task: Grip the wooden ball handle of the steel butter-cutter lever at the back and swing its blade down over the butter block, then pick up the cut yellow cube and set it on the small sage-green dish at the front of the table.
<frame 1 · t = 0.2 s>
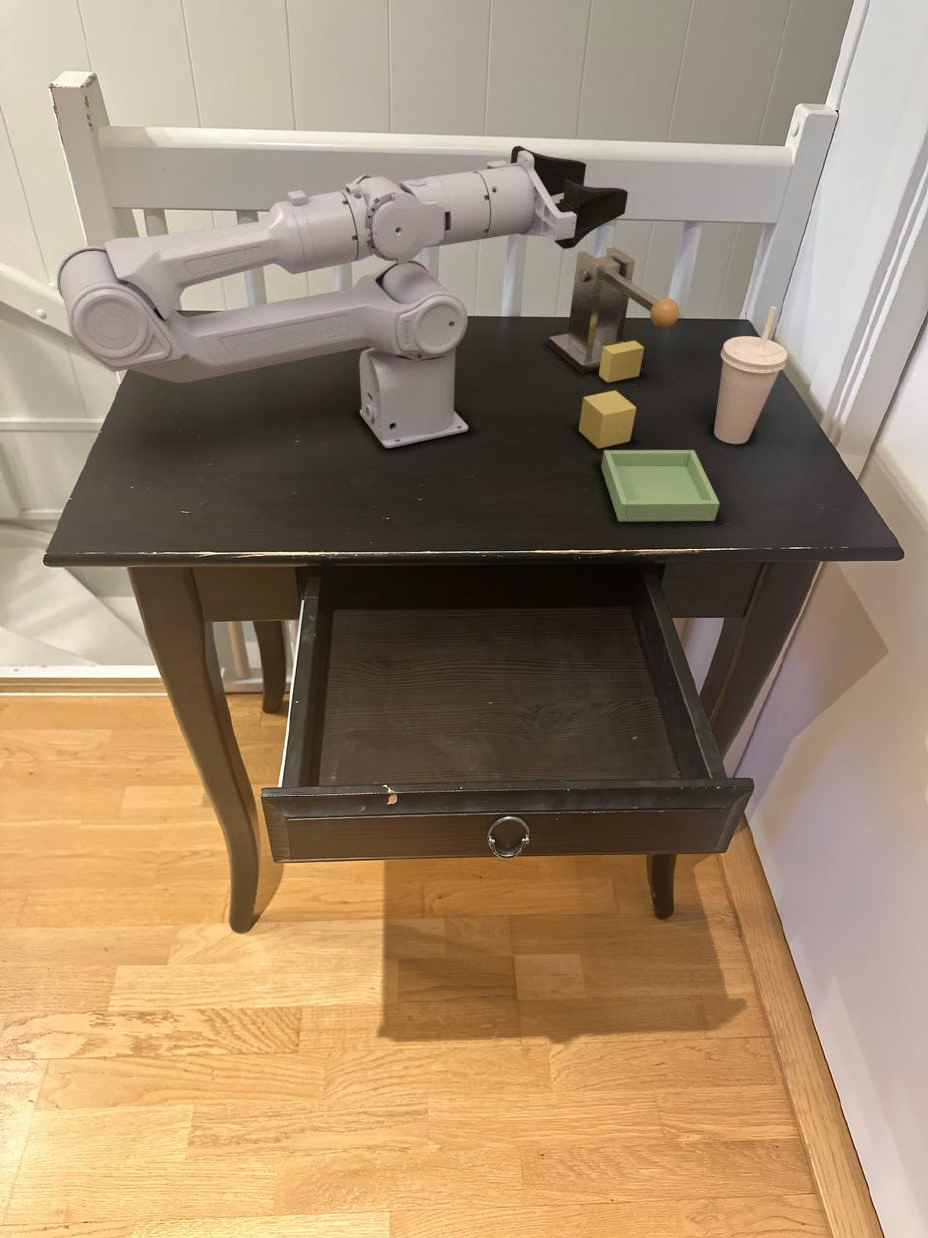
hand: (603, 187, 82), 22 cm above the table, tool horizontal, fingers open, 7 cm apart
yellow cube: (604, 435, 89), on the table
butter block: (618, 375, 99), on the table
dish: (655, 493, 82), on the table
smoothie: (730, 436, 90), on the table
cutter: (592, 354, 103), on the table
cutter lever: (633, 291, 92), point 10 cm above the table, hinge at 0.0°
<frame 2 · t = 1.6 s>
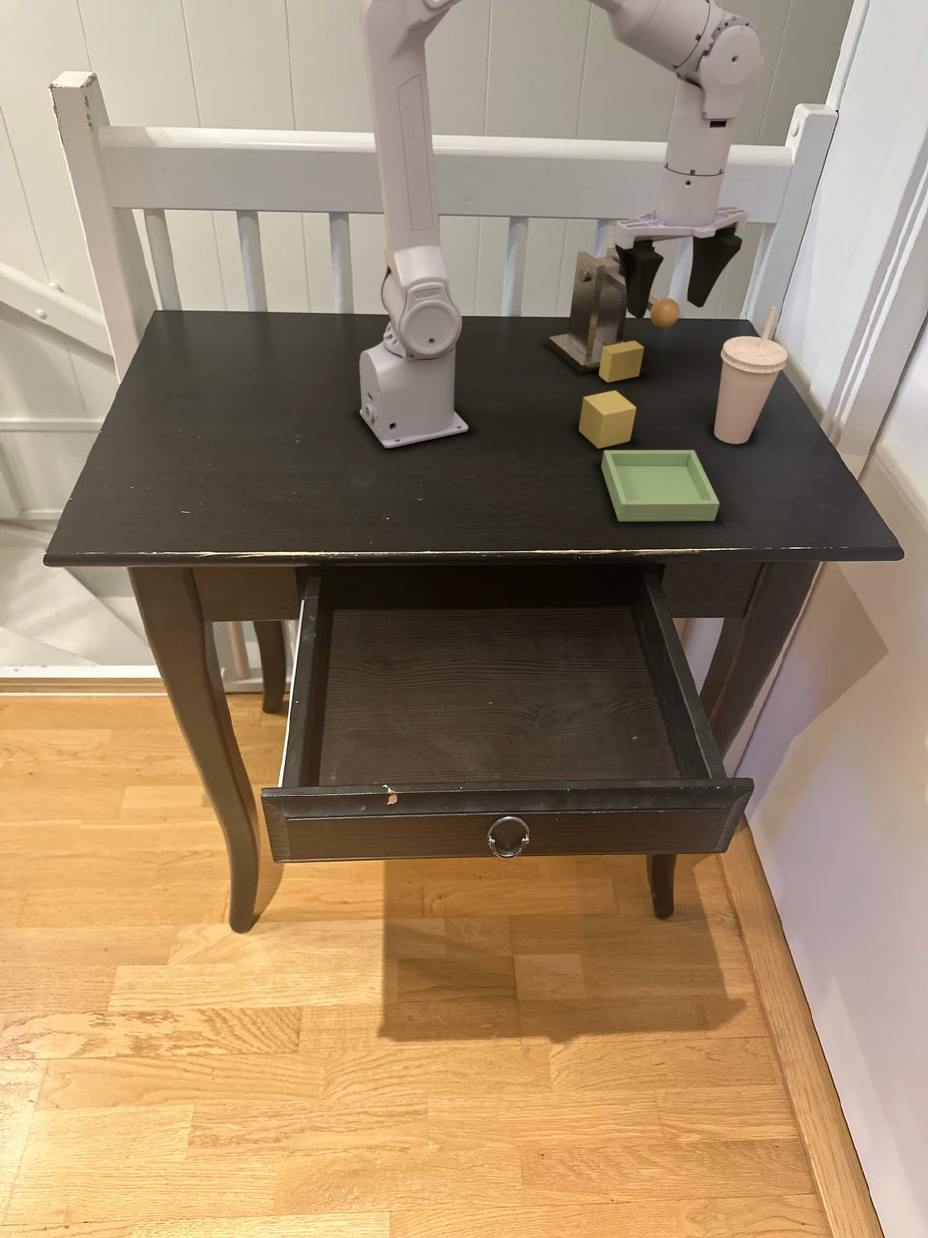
hand: (665, 309, 88), 10 cm above the table, tool pointing down, fingers open, 7 cm apart
nothing on the table moved.
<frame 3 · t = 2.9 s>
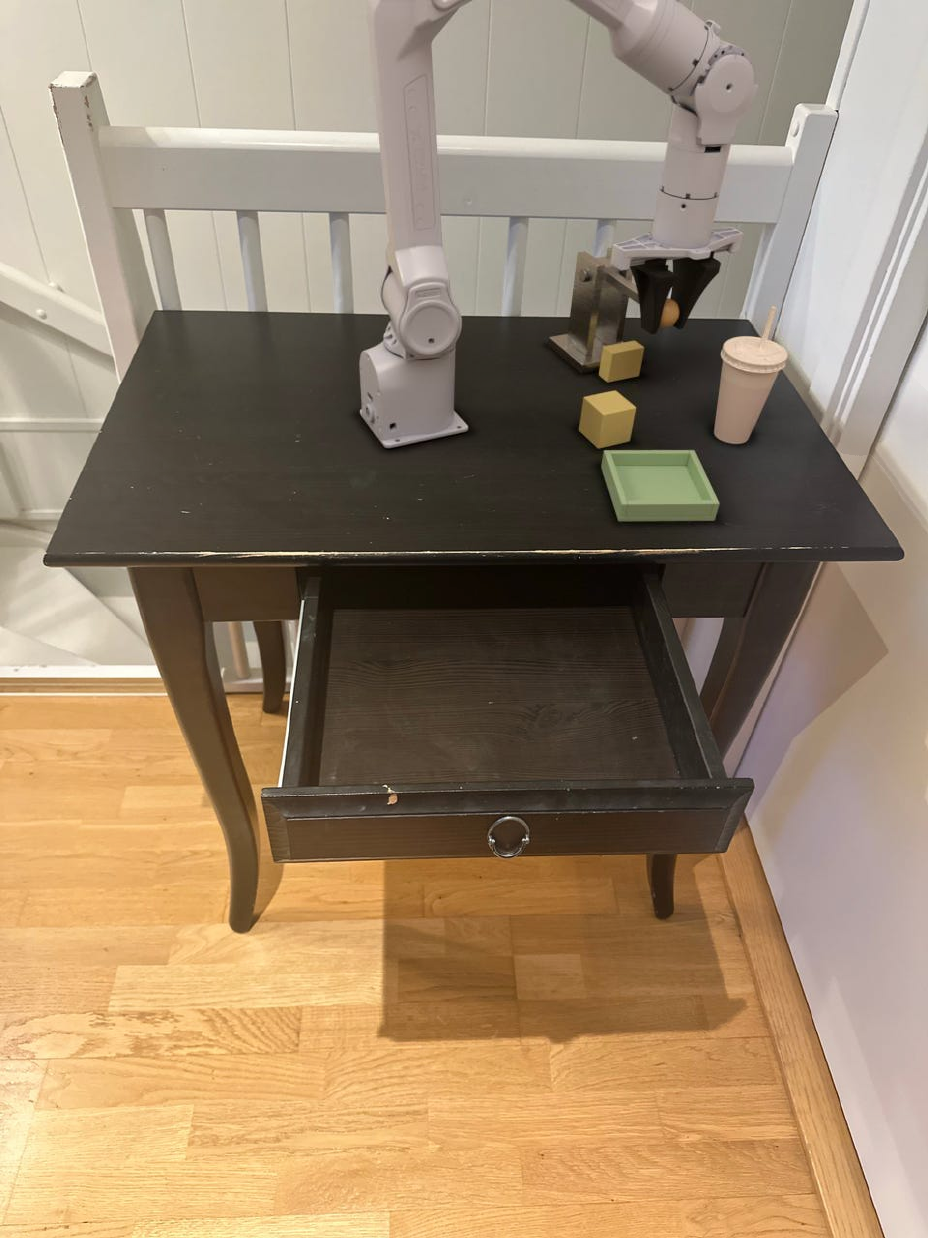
hand: (661, 327, 90), 8 cm above the table, tool pointing down, fingers closed on cutter lever, 3 cm apart
cutter lever: (633, 291, 92), point 10 cm above the table, hinge at 0.0°, touching gripper
everything else where it was.
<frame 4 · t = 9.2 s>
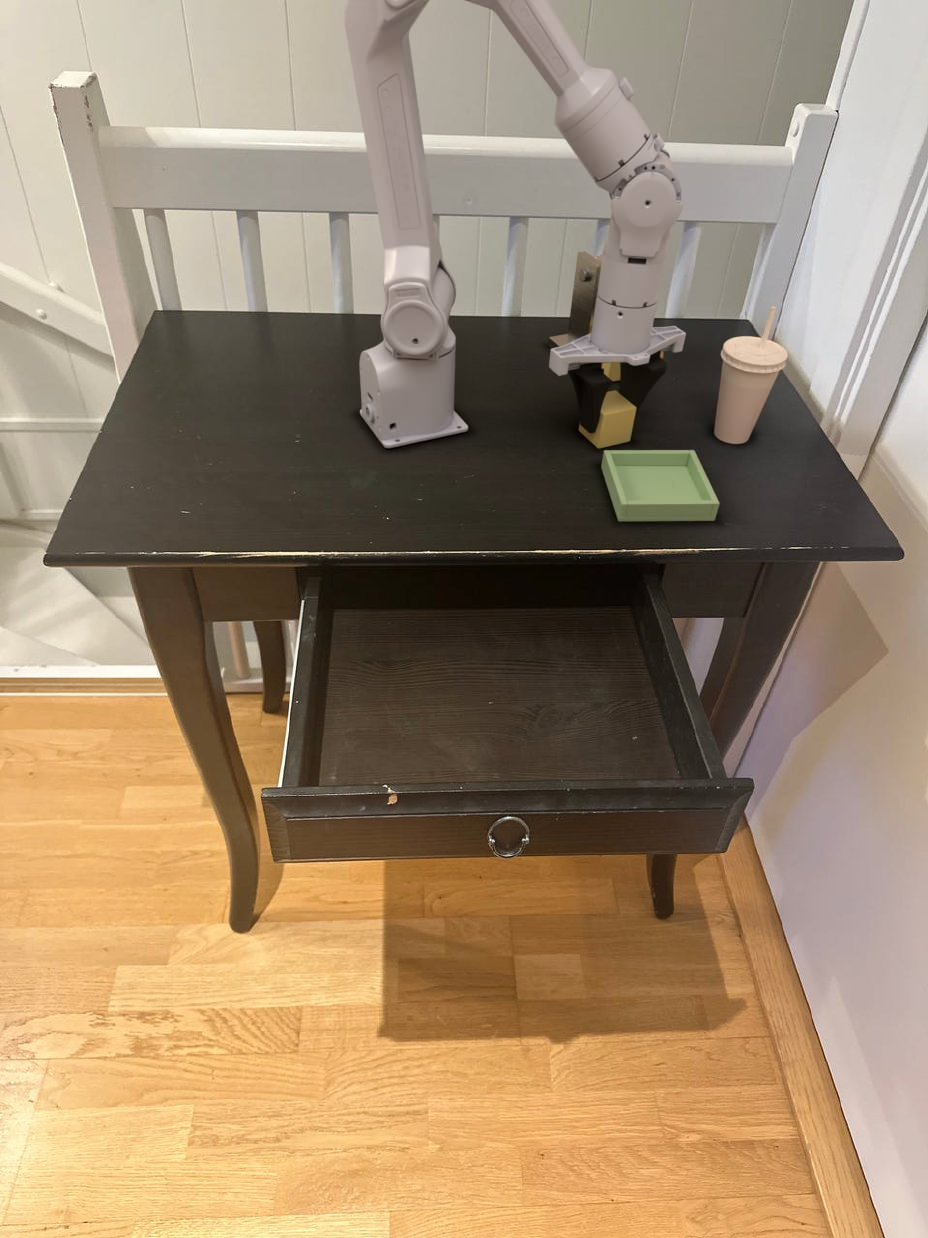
hand: (605, 424, 88), 1 cm above the table, tool pointing down, fingers closed on yellow cube, 4 cm apart
yellow cube: (604, 435, 89), on the table, touching gripper
cutter lever: (626, 312, 95), point 7 cm above the table, hinge at -25.5°
everything else where it was.
when the fingers open (2 cm above the table, at t = 13.3 s): yellow cube stays where it is, resting on dish.
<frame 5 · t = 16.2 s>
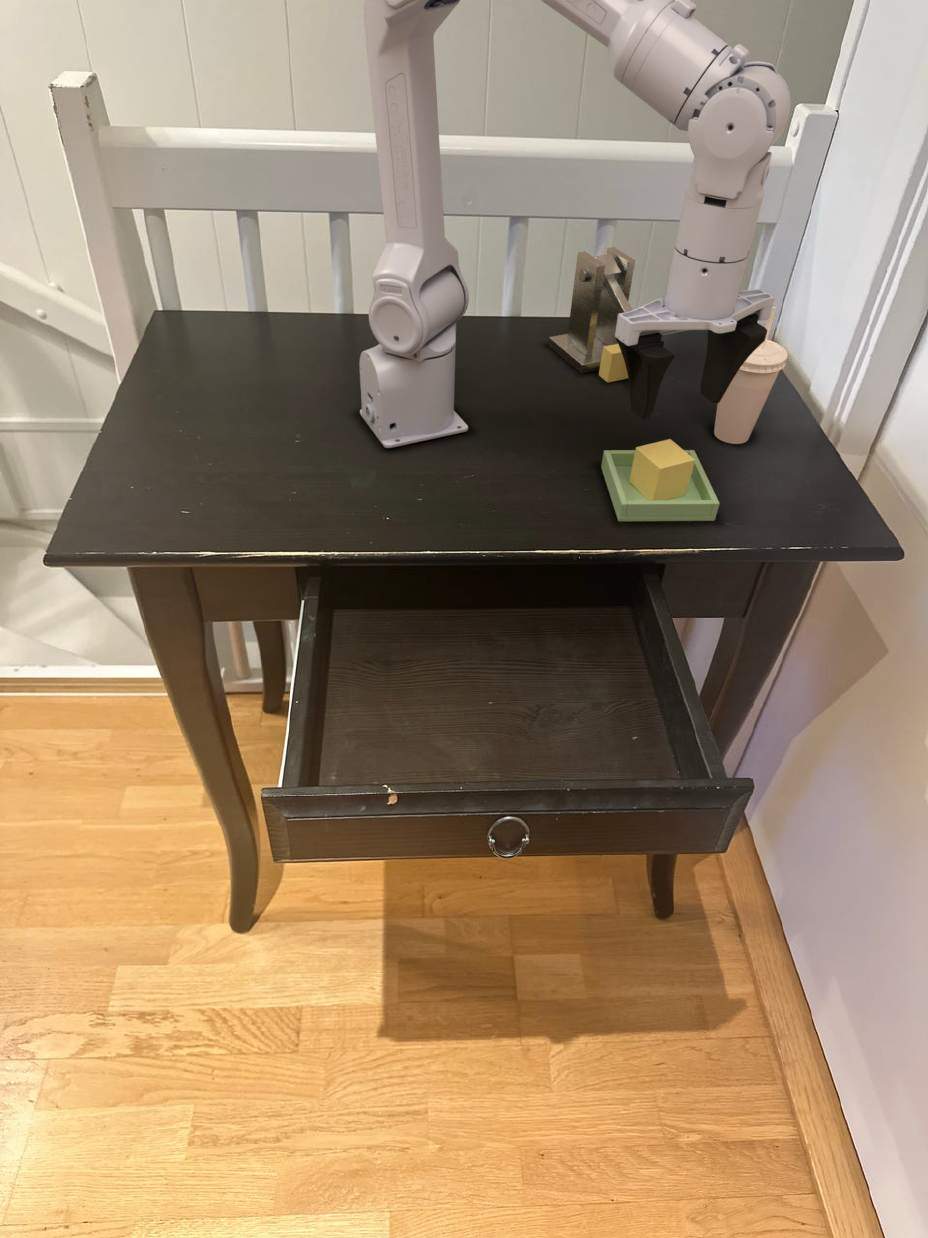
hand: (675, 406, 75), 9 cm above the table, tool pointing down, fingers open, 7 cm apart
yellow cube: (657, 488, 81), resting on dish
everything else where it was.
at the end: cutter lever reached -27° during the clip, -26° at the end; yellow cube 0.0 cm off-centre in the dish, point 0.5 cm above the dish's base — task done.
